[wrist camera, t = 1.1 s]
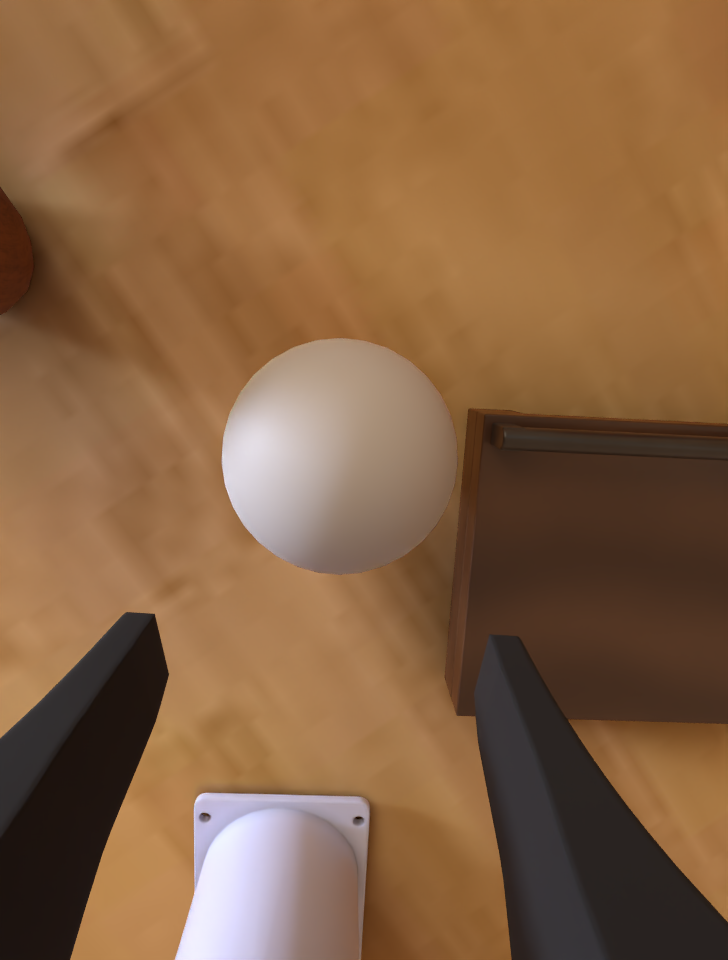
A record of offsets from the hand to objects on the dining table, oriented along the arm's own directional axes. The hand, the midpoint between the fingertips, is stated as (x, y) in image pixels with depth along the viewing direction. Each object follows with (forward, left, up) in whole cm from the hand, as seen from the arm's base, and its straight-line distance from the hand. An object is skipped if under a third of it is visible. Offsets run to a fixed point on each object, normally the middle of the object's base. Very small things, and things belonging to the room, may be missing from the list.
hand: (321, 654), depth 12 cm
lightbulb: (+4, 0, -11) cm, 12 cm away
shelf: (-1, -13, -11) cm, 17 cm away
